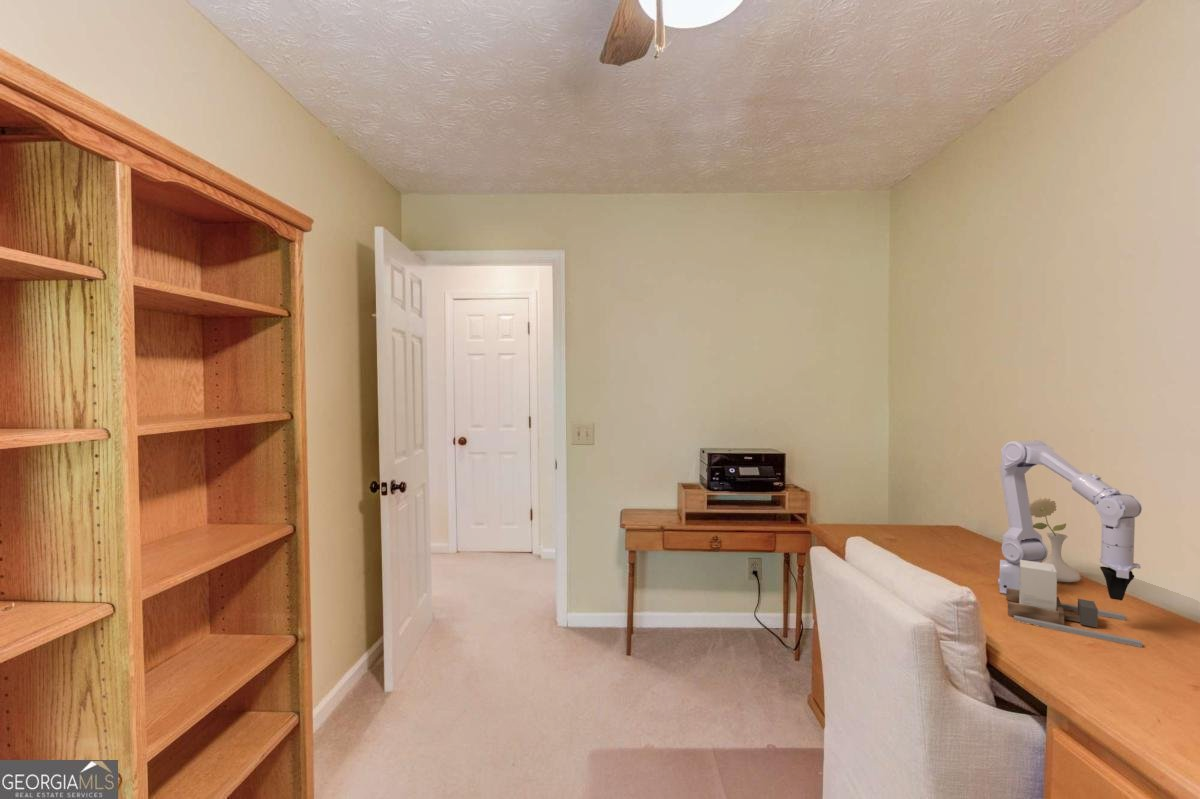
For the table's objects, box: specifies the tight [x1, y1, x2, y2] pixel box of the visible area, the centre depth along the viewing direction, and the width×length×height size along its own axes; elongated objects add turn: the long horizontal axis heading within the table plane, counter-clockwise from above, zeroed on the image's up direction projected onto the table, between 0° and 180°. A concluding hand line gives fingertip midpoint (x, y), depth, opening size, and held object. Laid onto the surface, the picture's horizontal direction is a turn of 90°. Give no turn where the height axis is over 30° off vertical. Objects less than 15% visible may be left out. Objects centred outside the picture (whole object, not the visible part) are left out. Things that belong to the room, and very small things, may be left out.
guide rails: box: [1013, 602, 1143, 648], centre depth 134 cm, size 23×19×1 cm
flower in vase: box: [1029, 497, 1082, 583], centre depth 163 cm, size 13×11×25 cm
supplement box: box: [1018, 560, 1058, 611], centre depth 139 cm, size 7×7×13 cm
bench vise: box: [1005, 588, 1099, 628], centre depth 137 cm, size 18×13×4 cm
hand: (1115, 598), depth 129 cm, fingers closed
